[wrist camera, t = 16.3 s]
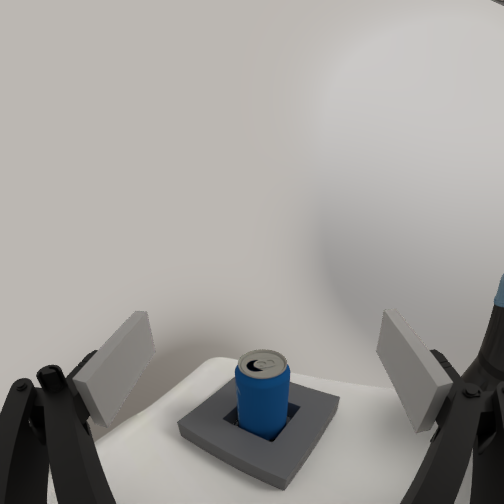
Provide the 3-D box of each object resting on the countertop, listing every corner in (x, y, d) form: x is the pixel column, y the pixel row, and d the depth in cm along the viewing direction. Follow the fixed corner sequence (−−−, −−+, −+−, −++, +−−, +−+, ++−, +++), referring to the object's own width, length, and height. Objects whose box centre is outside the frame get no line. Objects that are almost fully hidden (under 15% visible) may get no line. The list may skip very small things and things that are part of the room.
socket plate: (336, 410, 36) (339, 397, 35) (284, 490, 23) (285, 479, 22) (247, 380, 44) (247, 366, 44) (181, 435, 32) (177, 422, 31)
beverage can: (234, 416, 36) (229, 351, 33) (277, 408, 37) (280, 344, 35) (244, 448, 30) (241, 384, 27) (292, 438, 31) (299, 373, 28)
